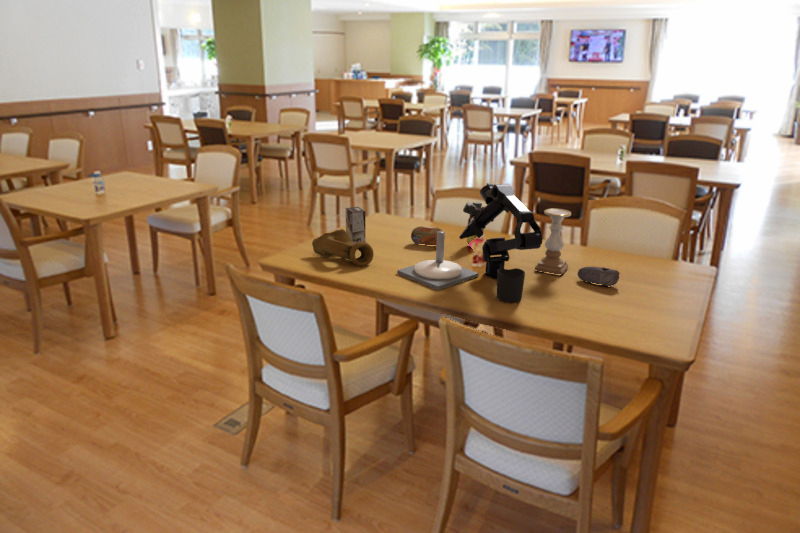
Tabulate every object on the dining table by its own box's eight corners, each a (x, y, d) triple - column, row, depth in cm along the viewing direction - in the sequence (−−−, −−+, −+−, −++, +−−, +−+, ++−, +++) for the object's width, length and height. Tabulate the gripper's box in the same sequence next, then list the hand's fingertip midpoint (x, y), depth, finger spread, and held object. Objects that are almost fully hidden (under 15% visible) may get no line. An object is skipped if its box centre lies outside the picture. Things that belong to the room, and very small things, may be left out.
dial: (471, 272, 228) (473, 238, 224) (438, 283, 217) (439, 247, 212) (437, 260, 241) (439, 228, 236) (404, 269, 229) (405, 236, 225)
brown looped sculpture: (355, 232, 256) (378, 237, 237) (349, 261, 257) (371, 269, 238) (315, 223, 247) (336, 228, 228) (309, 254, 248) (329, 261, 229)
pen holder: (503, 291, 215) (506, 265, 212) (527, 298, 209) (530, 271, 206) (490, 298, 208) (492, 272, 205) (514, 306, 203) (516, 278, 199)
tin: (410, 244, 266) (411, 226, 263) (412, 242, 269) (413, 224, 266) (443, 248, 262) (444, 229, 259) (445, 246, 265) (446, 227, 262)
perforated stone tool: (574, 281, 226) (576, 264, 224) (579, 277, 230) (581, 260, 228) (614, 291, 218) (616, 273, 215) (618, 287, 222) (621, 269, 219)
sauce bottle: (476, 249, 261) (479, 205, 254) (464, 246, 264) (466, 202, 258) (483, 245, 266) (486, 202, 259) (471, 243, 269) (474, 200, 263)
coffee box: (366, 247, 261) (366, 211, 255) (352, 248, 258) (352, 212, 253) (358, 241, 269) (358, 206, 263) (345, 242, 266) (344, 207, 261)
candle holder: (534, 271, 236) (539, 212, 228) (541, 263, 245) (547, 206, 237) (561, 276, 231) (568, 216, 223) (568, 268, 240) (575, 210, 232)
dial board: (478, 276, 229) (478, 272, 228) (437, 290, 215) (438, 285, 214) (437, 262, 244) (437, 258, 243) (397, 273, 230) (397, 269, 229)
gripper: (477, 190, 232) (447, 216, 237) (476, 201, 215) (444, 229, 220) (496, 211, 234) (466, 236, 239) (496, 224, 216) (464, 251, 221)
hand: (460, 238), depth 230 cm, fingers closed
